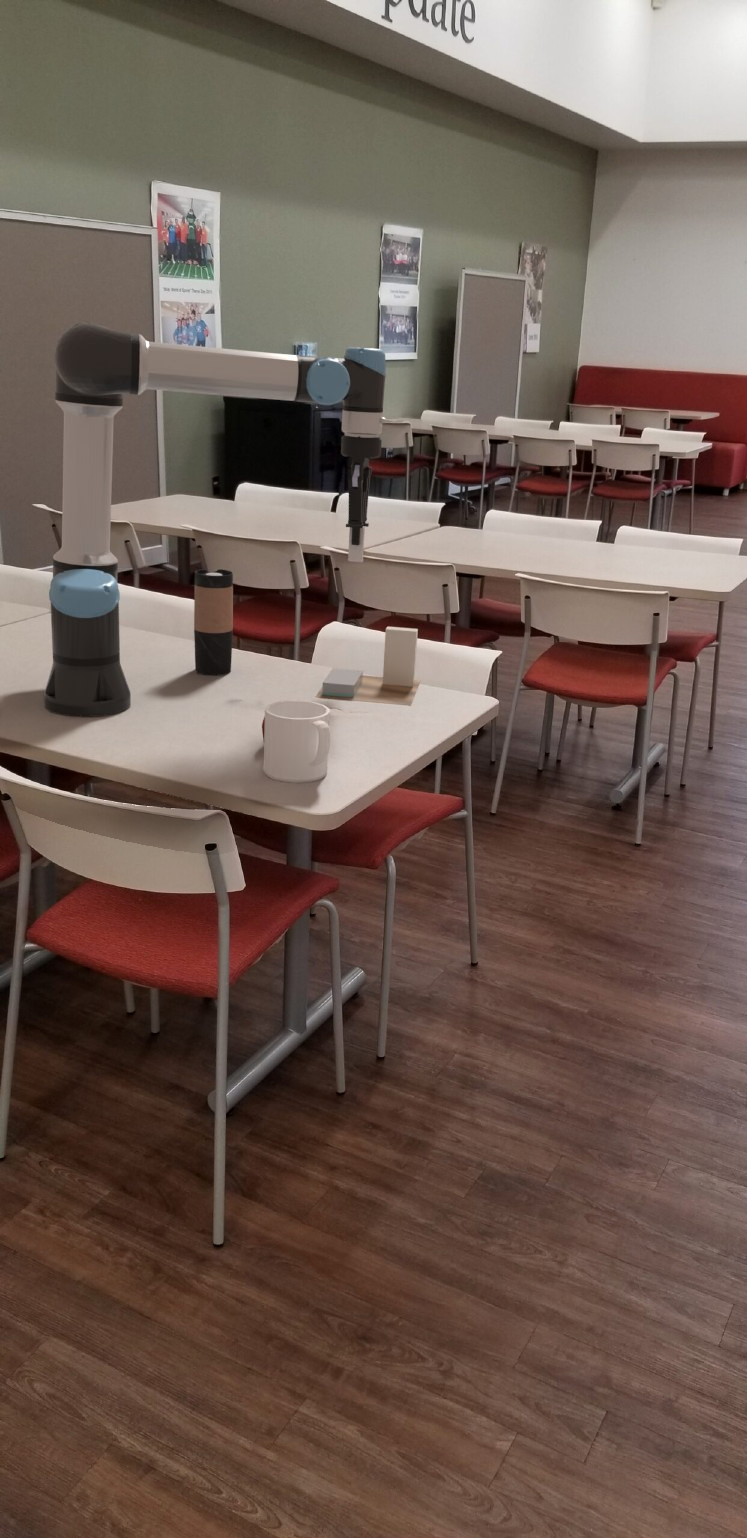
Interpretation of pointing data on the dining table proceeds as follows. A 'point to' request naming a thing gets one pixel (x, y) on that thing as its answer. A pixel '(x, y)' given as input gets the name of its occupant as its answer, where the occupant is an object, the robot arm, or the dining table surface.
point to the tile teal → (342, 682)
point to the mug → (296, 741)
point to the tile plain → (400, 656)
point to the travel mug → (213, 621)
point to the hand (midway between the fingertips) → (355, 560)
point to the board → (380, 692)
